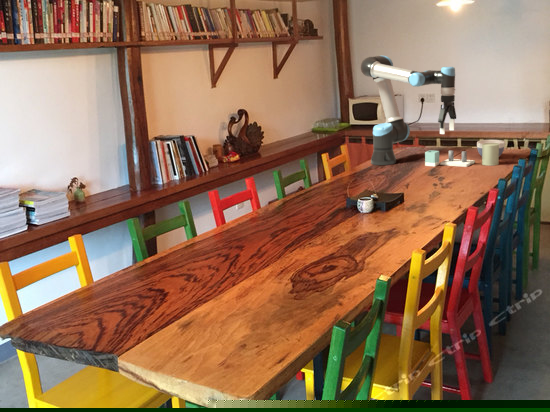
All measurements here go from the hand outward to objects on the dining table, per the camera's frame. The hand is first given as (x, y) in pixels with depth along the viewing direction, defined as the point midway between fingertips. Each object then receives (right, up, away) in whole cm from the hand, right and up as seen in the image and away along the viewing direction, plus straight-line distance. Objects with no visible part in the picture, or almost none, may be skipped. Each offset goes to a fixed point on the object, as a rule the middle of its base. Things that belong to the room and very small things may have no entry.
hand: (447, 132), depth 365 cm
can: (+24, -19, -1) cm, 31 cm away
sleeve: (-7, -18, +6) cm, 21 cm away
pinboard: (+7, -18, +5) cm, 20 cm away
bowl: (+30, -14, +16) cm, 37 cm away
